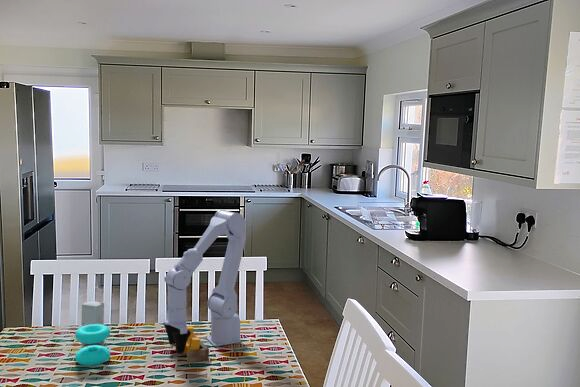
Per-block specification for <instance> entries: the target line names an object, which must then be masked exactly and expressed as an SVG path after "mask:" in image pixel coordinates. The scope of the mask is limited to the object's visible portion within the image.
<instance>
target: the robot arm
mask: <svg viewBox="0 0 580 387" xmlns="http://www.w3.org/2000/svg"><path fill="white" fill-rule="evenodd" d="M246 224H247V221H246V219H245V218H244V215H243V214H241V213H240V212H233V211H228V210H226V209H219V210H218V211H216V212H215V214H214V216H212V217H211V219H210V222H209V225H208V227H207V228H206V230H205V231H204V232H203V234H202V235H201V237H200V238H199V240H198V241H197V243H196V244H195V246H194V247H193V248H188V249H187V251H184V252H183V255H182V257H181V258H180V259H179V261H178V262H177V263H176V264H174V266H173V268H171V269H169V270H168V271H167V273H166V274H165V276H164V282H165V283H166V285H167V314H166V320H164V321H163V326H164V328H165V330H166V335H167V340H168V343H169V346H170V345H175V351H176V354H185V353H184V350H185V346H186V343H187V340H188V338H189V336H190V335H191V331H190V330H188V331H187V321H188V319H187V287H188V286H189V285H190V283H191V277H192V276H193V273H194V272H195V271H196V269H198V267H199V265H200V264H201V263H202V262H203V261H204V260H203V254H204V253H206V251H207V250H208V249H209V248H210V247H211V245H212V244H213V243H214V242H215V241H216V239H217V238H218V237H220V236H226V238H227V239H228V242H227V247H226V251H225V253H224V254H225V255H224V259H223V264H222V267H221V272H220V274H219V276H220V277H219V280H218V284H217V285H216V286H215V287H214V288H213V289H212V292H211V294H210V295H209V297H208V299H207V303H206V304H207V308H208V310H210V336H207V337H206V340H207V341H209V343H210V344H212V345H213V347H219V346H221V347H222V346H226V345H232V344H237V343H238V344H239V343H241V342H242V340H241V319H240V316H239V314H237V310H238V302H237V301H238V294H237V292H236V290H235V286H236V282H237V278H238V274H239V270H240V265H241V260H242V258H243V253H244V250H245V249H244V248H245V245H246V244H245V243H246V240H247V233H246Z"/></svg>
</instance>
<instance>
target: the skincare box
mask: <svg viewBox="0 0 580 387" xmlns="http://www.w3.org/2000/svg"><path fill="white" fill-rule="evenodd" d="M104 320H105V302H101V301H100V302H99V301H94V300H88V301H86V302H83V303H82V304H81V325H80V326H81V327H82V326H85V325H90V324H102V325H105V324H104V322H105V321H104Z"/></svg>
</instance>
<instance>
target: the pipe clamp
mask: <svg viewBox="0 0 580 387" xmlns="http://www.w3.org/2000/svg"><path fill="white" fill-rule="evenodd" d="M186 326H187V325H186ZM194 328H195V327H194V326H189V325H188V326H187V331H188V330H190V331H191V335H190V336H189V338H188V340H187V343H186V346H185V350H184V353H183V354H187V351H192V350H198V349H199V347H200V341H201V339H200V337H197V336H196V337H195V338H194V336H193V334H194Z"/></svg>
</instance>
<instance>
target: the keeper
mask: <svg viewBox="0 0 580 387" xmlns="http://www.w3.org/2000/svg"><path fill="white" fill-rule="evenodd" d="M193 336H194V338H195V337H197V336H196V334H195V333H193ZM209 360H210V349H209V347H207V345H206V344H204V342H203V341H201V340H200V347H199V349H198V350H192V351H187V353H186V363H187V364H194V363H199V362H203V361H204V362H205V361H209Z"/></svg>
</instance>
